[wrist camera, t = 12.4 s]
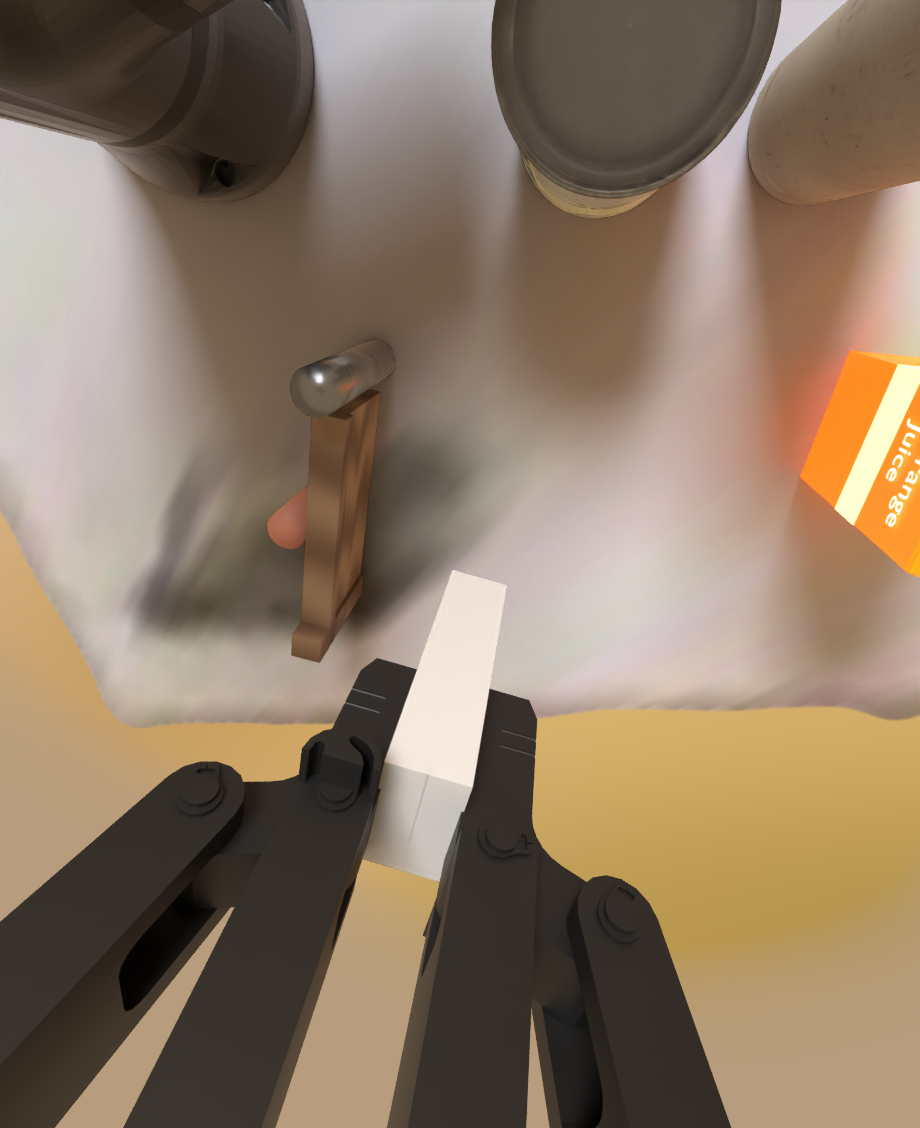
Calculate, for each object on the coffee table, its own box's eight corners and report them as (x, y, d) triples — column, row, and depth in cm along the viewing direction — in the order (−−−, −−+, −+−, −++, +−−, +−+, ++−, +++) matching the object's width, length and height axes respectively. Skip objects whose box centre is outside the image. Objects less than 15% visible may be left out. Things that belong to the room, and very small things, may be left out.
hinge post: (353, 367, 42) (284, 402, 31) (366, 332, 41) (299, 356, 30) (386, 386, 42) (328, 426, 32) (401, 351, 41) (346, 381, 30)
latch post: (300, 502, 48) (262, 537, 42) (311, 473, 47) (273, 505, 40) (331, 518, 48) (298, 555, 42) (343, 490, 47) (311, 524, 41)
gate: (355, 386, 42) (301, 418, 33) (384, 392, 41) (337, 427, 33) (338, 587, 50) (291, 655, 42) (361, 593, 50) (319, 662, 42)
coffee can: (482, 111, 34) (436, 23, 21) (632, -57, 29) (683, -289, 17) (582, 259, 36) (593, 257, 24) (733, 125, 32) (840, 39, 20)
